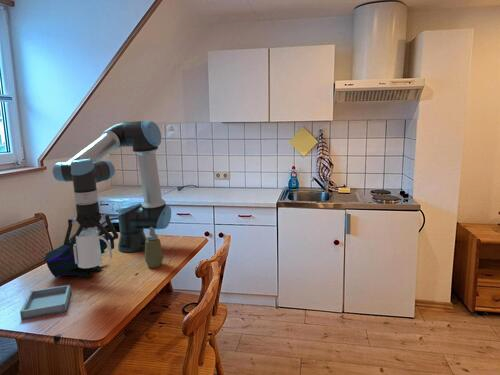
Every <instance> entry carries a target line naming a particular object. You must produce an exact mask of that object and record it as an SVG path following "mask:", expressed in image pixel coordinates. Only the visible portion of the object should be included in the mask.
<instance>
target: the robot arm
mask: <svg viewBox="0 0 500 375" xmlns="http://www.w3.org/2000/svg"><path fill="white" fill-rule="evenodd" d="M161 143H162V133H161V130H160V127H159V125H158V124H157V123H156V122H155V121H150V120H137V121H136V120H135V121H122V122H118V123H116V124H114V125H111V126H110V127H108V128H106V129H105V130H104V131H103V132H101V134H100V135H99V137H98V138H97V139H96V140H94V141H93V142H92V143H90V144H89V145H88V146H86V147H85V148H83V149H82V150H81V151H79V152H78V153H77V154H75V155H74V156H72V158H70V159H68V160H67V161H61V162H56V163H55V164H54V165H53V167H52V175H53V178H54V179H55V180H57V181H58V182H65V183H68V182H72V186H73V195H74V200H75V201H74V202H75V203H76V205H75V209H76V210H75V211H76V217H73V218H72V217H68V219H67V222H68V223H67V229H66V233H65V237H64V241H63V245H64V246H69V247H70V252H71V255H74V257H75V264H78V257H77V250H76V244H74V243H75V241H76V236H79V234H80V233H81V231H83V229H86V230H87V229H89V228H97V229H98V230H99V231H100V232H101V233H102V234H103V235H105V236H106V237H107V238H108V239H109V240H108V244H109V250H108V252H109V259H110V260H111V259H113V250H114V249H115V240H118V239H119V240H118V243H117V250H118V252H121V253H135V252H136V253H137V252H140V251H143V250H145V241H146V240H147V235H146V234H145V231H144V230H150V227H153V229H154V230H165V229H167V227H168V226H169V225H170V222H171V220H172V208H171V207H170V206H168V205H167V204H166V200H164V199H163V198H162V191H161V183H160V177H159V175H160V174H159V170H158V169H159V168H158V163H157V161H158V160H157V155H156V152H157V151H158V150H159V146H160V145H161ZM124 147H126V148H127V147H132V151H133V153H135V154H136V156H137V163H138V171H139V177H140V183H141V189H142V190H141V191H142V196H143V202H140V201H139V202H138V201H137V202H136V201H135V202H129V203H126V204H122V205H119V207H118V209H117V216H118V226H119V233H118V232H117V230H116V228H115V226H114V225H113V223H112V221H111V219H110V214H109V213H108V212H107V213H106V214H105V213H104V214H101V213H100V205H99V202H98V200H99V197H98V188H97V184H98V183H101V182H104V181H107V180H110V179H112V178H113V176H115V172H116V169H115V166H114V164H113V163H112V162H110V160H105V159H104V158H105V156H107V155H108V154H109V153H110V152H111V151H116V150H118V149H119V148H124ZM103 159H104V160H103ZM101 219H103V220H104V221H105V222H106V224H107V226H108V228H109V230H110V231H108V230H107V229H106V227H104V225H103V224H102V223H101V222H100V221H101ZM76 222H77V223H78V224H79V226H78V228H77V230H76V232H75V233H74V234H75V235H74V234H73V235H74V237H73V239H72V240H71V242H69V239H70V238H71V232H72V230H73V225H75V223H76ZM110 232H111V233H110Z"/></svg>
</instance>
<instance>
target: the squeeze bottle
mask: <svg viewBox="0 0 500 375" xmlns="http://www.w3.org/2000/svg"><path fill="white" fill-rule="evenodd" d="M148 232H149V234H147V235H146V238H147V240H146V241H145V249H144V254H145V255H144V260H145V263H146V266H147V267H148V268H150V269H154V268H158V267H161V266H162V264H163V260H164V254H163V250H162V249H163V248H162V244H161V239H160V238H159V237H158V234H157V233H156V232H155V229H153V227H150V229H149V231H148Z"/></svg>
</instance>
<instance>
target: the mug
mask: <svg viewBox="0 0 500 375" xmlns="http://www.w3.org/2000/svg"><path fill="white" fill-rule="evenodd" d="M99 233H100V232H99V230H96V229H86V230H82V231H81V233H80V234H79V236H76V241H75V242H76V250H77V257H78V267H79V268H92V267H96V266H100V265H102V264H103V259H102V257H104V256H106V255H107V254H108V252H109V244H108V242H107V240H106V239H105V238H103V237H102V236H101V235H100V234H99ZM99 239H102V240H104V241H105V242H106V244H107V248H106V249H105V252H104V253H102V254H101V250H100V241H99Z"/></svg>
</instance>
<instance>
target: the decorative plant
mask: <svg viewBox="0 0 500 375" xmlns="http://www.w3.org/2000/svg"><path fill="white" fill-rule="evenodd" d="M74 235H75V233H74V234H73V235H72V236H70V237H69V242H71V240H72V239H73V237H74ZM100 236H102V237H103V238H105V239H106V240H107V242H108V240H109V239H108V238H107V237H106V236H105V235H104V234H103V235H100ZM99 241H100V250H101V254H102V253H104V252H106V250H107V244H106V242H105V241H104V240H102V239H99ZM74 244H76V242H75V243H74ZM44 262H46V266H47V268H48V270H49V271H50V274H52V275H53V277H54V278H59V277H62V276H64V275H69V276H70V275H71V276H77V277H78V276H79V277H82V278H88V279H92V278H93V277H94V275H91V274H90V272H95V271H96V272H100V271H102V270H103V268H104V267H102V266H100V265H98V266H96V267H92V268H79V267H78V264H75V257H74V255H71V252H70V247H69V246H64V244H62V245H60V246H59V247H57V248H54V249H52V250H50V251H49V252H47V253H46V254H45V255H44Z"/></svg>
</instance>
